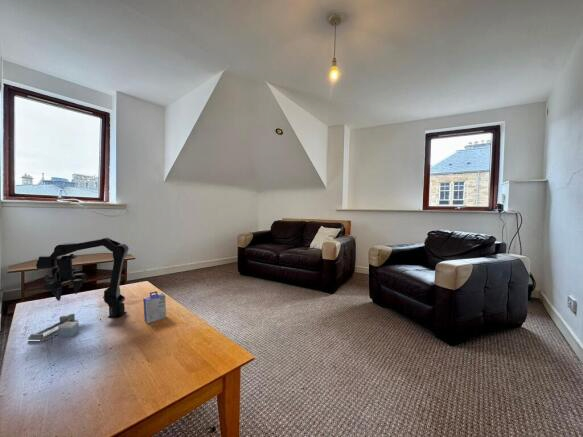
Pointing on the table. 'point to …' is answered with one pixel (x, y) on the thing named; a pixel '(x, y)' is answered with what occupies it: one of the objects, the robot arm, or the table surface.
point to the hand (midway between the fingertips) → (67, 297)
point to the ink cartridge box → (154, 307)
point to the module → (68, 328)
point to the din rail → (52, 328)
